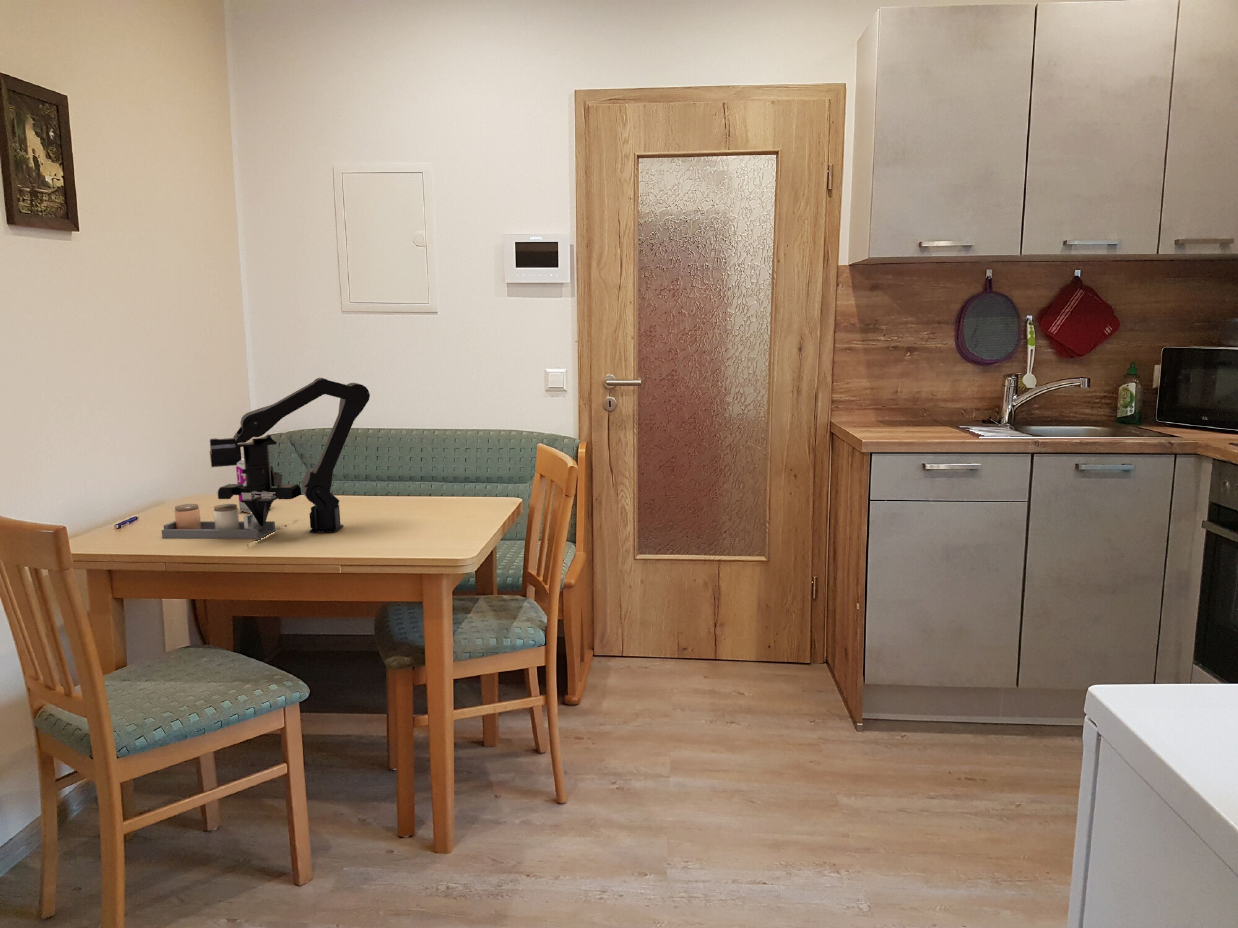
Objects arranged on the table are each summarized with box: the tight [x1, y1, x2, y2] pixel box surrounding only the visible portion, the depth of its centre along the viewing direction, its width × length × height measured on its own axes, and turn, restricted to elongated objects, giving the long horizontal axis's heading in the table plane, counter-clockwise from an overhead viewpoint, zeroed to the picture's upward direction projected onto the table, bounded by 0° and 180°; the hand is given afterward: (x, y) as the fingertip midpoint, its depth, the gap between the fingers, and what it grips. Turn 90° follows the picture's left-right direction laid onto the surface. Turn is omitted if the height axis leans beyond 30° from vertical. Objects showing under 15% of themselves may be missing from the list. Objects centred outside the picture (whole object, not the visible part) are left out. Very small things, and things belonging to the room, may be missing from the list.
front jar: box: [174, 503, 202, 529], centre depth 211 cm, size 6×6×7 cm
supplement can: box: [235, 457, 266, 513], centre depth 240 cm, size 8×8×15 cm
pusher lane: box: [161, 520, 276, 541], centre depth 211 cm, size 24×10×4 cm, turn 86°
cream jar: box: [213, 503, 240, 530], centre depth 211 cm, size 6×6×7 cm
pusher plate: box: [242, 513, 263, 531], centre depth 210 cm, size 1×7×5 cm, turn 176°
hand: (262, 525), depth 210 cm, fingers closed
